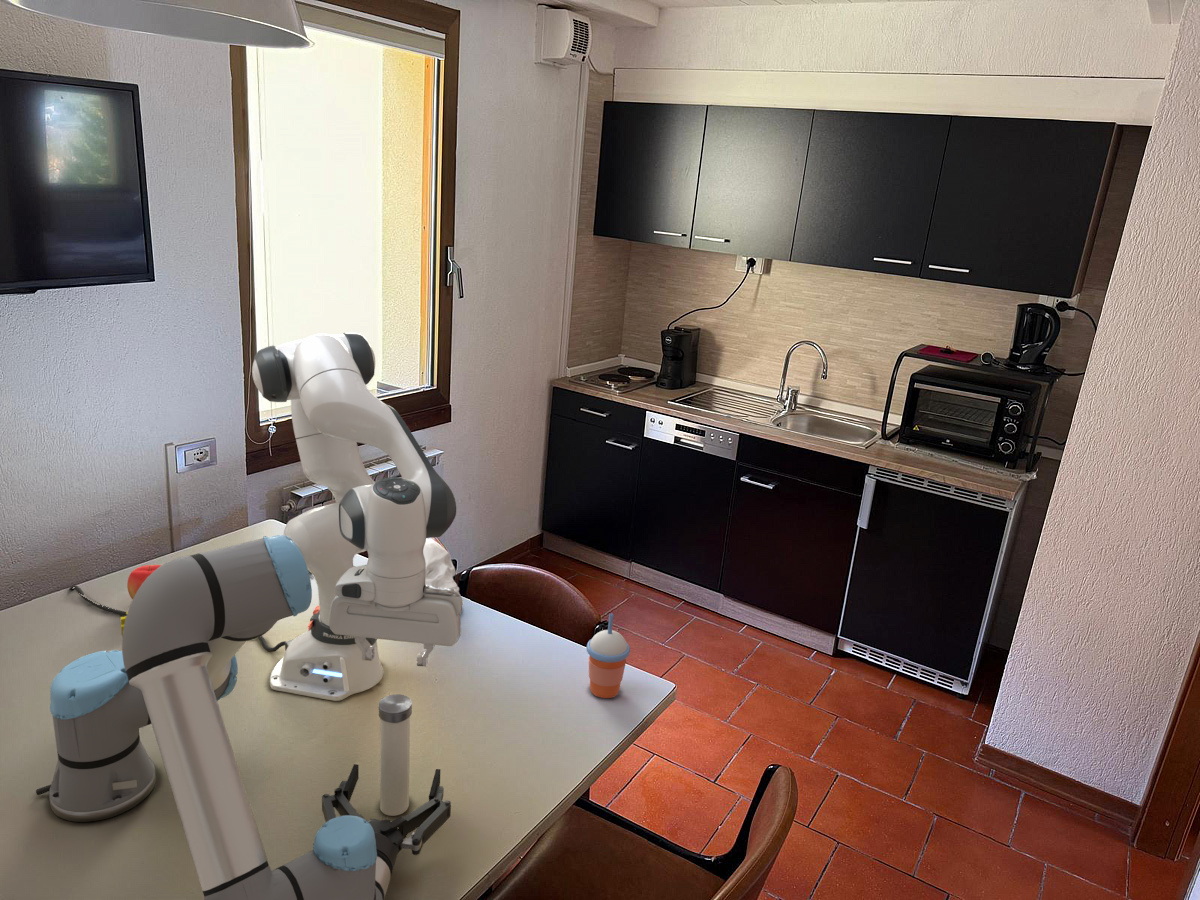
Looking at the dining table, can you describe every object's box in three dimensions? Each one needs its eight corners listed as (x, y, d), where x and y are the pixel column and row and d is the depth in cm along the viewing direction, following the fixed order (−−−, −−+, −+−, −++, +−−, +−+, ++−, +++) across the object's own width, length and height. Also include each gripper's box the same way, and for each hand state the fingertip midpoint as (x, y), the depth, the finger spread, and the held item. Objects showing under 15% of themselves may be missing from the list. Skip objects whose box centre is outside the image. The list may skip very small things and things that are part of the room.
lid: (397, 700, 142) (397, 690, 141) (418, 713, 139) (418, 703, 138) (371, 713, 138) (371, 703, 137) (392, 727, 135) (392, 717, 134)
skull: (448, 622, 203) (451, 561, 199) (372, 599, 211) (374, 540, 207) (477, 602, 215) (480, 543, 211) (405, 581, 223) (406, 524, 219)
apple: (178, 610, 199) (175, 571, 196) (132, 618, 194) (128, 578, 191) (171, 592, 207) (168, 555, 204) (127, 600, 202) (123, 562, 199)
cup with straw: (621, 706, 176) (629, 628, 171) (578, 698, 178) (585, 621, 173) (629, 682, 185) (636, 608, 180) (588, 675, 186) (594, 601, 181)
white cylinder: (396, 792, 147) (397, 694, 141) (414, 805, 144) (416, 705, 138) (374, 806, 143) (374, 705, 138) (392, 820, 141) (392, 718, 135)
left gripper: (278, 887, 123) (322, 787, 143) (451, 896, 124) (471, 796, 144) (276, 844, 121) (321, 750, 141) (453, 854, 122) (472, 758, 142)
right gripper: (467, 580, 134) (464, 658, 138) (339, 567, 135) (340, 645, 139) (458, 599, 128) (455, 679, 132) (324, 585, 129) (325, 665, 133)
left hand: (397, 773), depth 143 cm, fingers open, 13 cm apart
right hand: (395, 661), depth 136 cm, fingers open, 7 cm apart
